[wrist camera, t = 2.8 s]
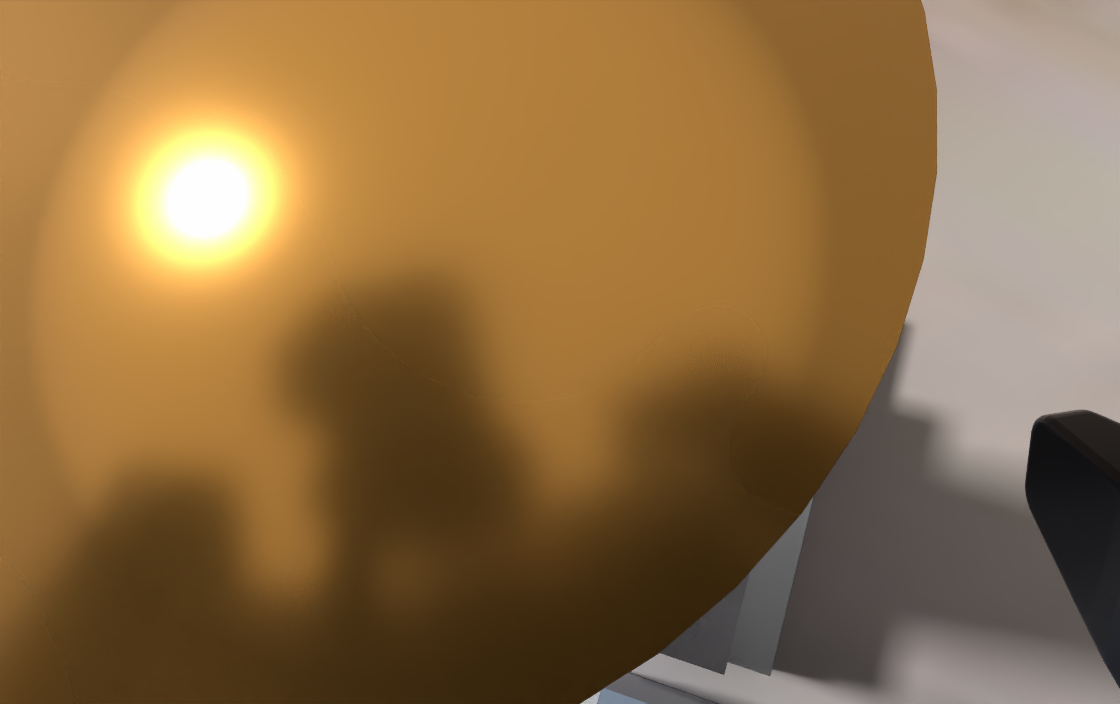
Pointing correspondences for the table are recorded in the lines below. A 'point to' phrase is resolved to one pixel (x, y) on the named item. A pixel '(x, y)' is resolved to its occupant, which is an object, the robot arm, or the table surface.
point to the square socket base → (747, 613)
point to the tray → (644, 693)
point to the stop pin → (430, 330)
